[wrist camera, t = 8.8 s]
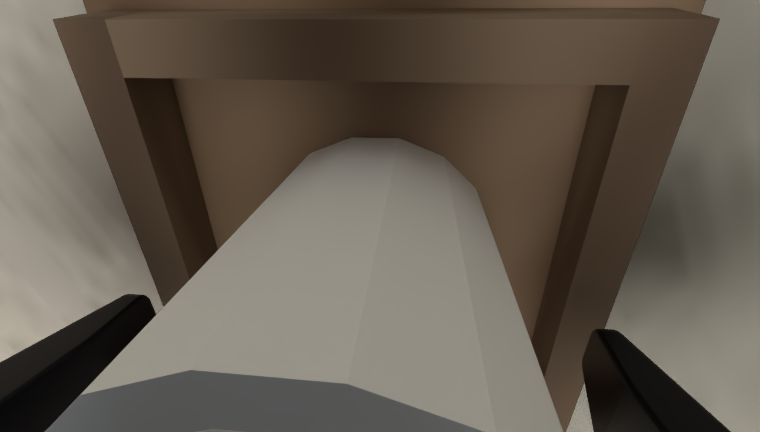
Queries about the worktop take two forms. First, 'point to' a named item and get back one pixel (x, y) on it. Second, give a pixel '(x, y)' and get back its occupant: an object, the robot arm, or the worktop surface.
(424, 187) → the white cup
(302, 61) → the walnut holder
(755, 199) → the worktop surface
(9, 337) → the worktop surface
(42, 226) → the worktop surface
